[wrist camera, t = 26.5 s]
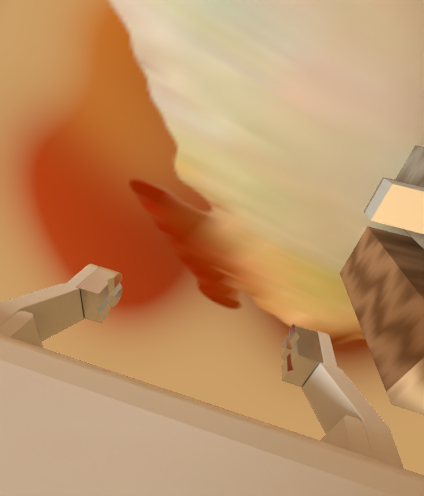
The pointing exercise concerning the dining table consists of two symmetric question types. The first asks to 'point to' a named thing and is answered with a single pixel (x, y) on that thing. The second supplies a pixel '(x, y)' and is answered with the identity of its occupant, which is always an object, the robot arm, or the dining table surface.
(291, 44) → the dining table surface
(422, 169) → the grey marbled block
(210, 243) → the dining table surface
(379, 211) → the sanding stick
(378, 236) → the tall stand
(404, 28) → the dining table surface
